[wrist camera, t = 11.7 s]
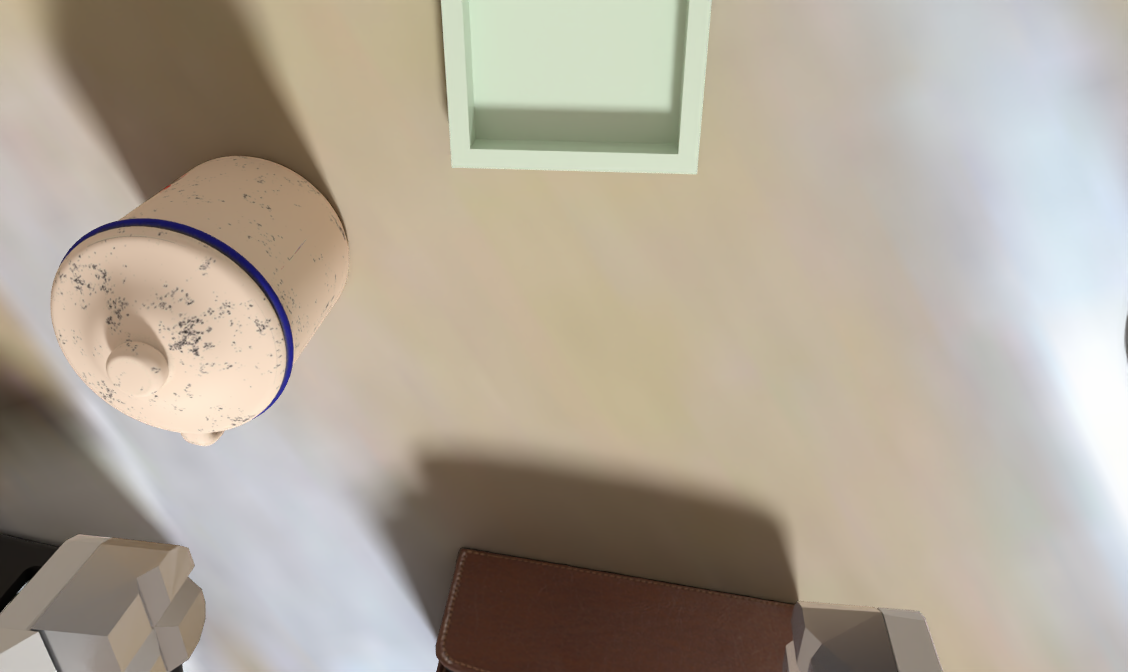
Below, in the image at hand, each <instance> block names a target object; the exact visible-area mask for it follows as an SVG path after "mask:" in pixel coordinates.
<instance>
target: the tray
mask: <svg viewBox="0 0 1128 672" xmlns="http://www.w3.org/2000/svg"><path fill="white" fill-rule="evenodd" d="M711 2H712V0H441V10H442V25H443V40H444V56H445V71H446V86H447V101H448V117H449V132H450V147H451V162H452V168H489V169H525V170H562V171H598V172H635V173H671V174H697V167H698V155H699V144H700V132H701V120H702V108H703V96H704V85H705V73H706V61H707V49H708V37H709V26H710V14H711Z"/></svg>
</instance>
